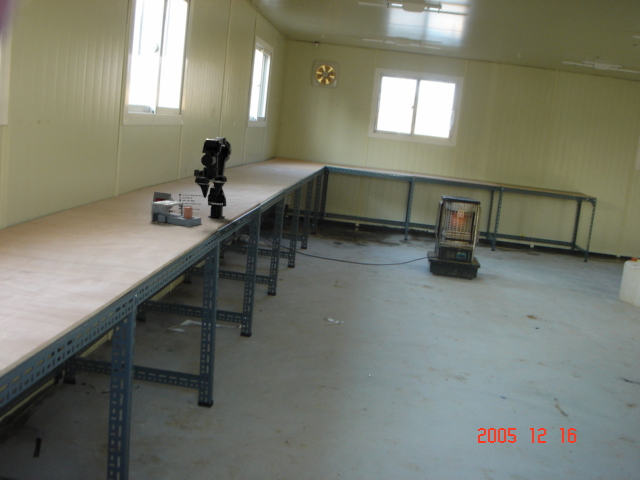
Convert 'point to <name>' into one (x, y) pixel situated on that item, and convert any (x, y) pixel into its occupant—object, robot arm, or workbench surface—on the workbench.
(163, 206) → the awning
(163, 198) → the voltmeter
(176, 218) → the socket board
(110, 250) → the workbench surface
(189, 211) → the peg
